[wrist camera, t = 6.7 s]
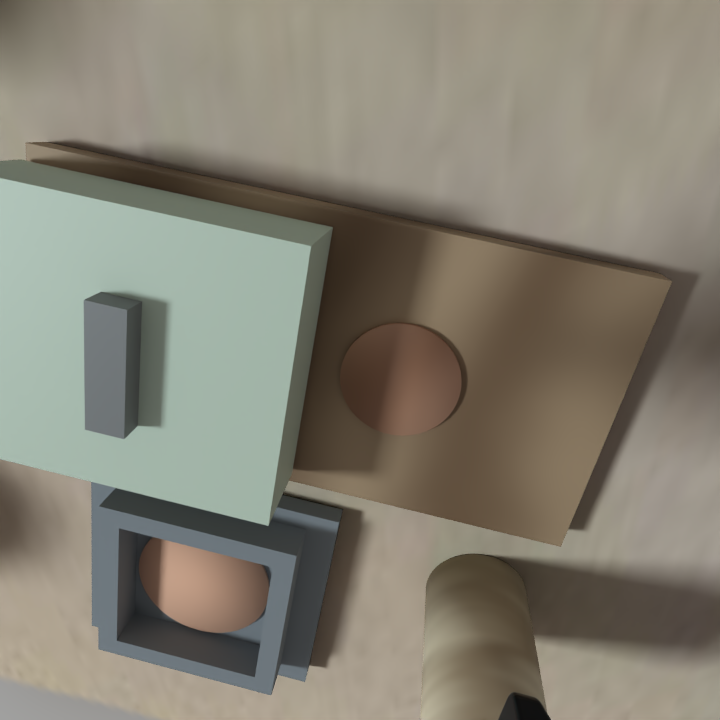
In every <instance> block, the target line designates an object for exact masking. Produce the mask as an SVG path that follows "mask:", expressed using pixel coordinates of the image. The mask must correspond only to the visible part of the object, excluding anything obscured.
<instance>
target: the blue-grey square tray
mask: <svg viewBox="0 0 720 720" xmlns="http://www.w3.org/2000/svg"><path fill="white" fill-rule="evenodd" d="M91 490H92V626H96V627H99V649H100V650H103V651H107V652H111V653H115V654H118V655H122V656H126V657H130V658H133V659H137V660H141V661H145V662H148V663H152V664H156V665H160V666H163V667H167V668H171V669H175V670H178V671H182V672H186V673H189V674H193V675H197V676H201V677H204V678H208V679H212V680H216V681H219V682H223V683H227V684H231V685H234V686H238V687H242V688H246V689H249V690H253V691H257V692H261V693H264V694H268V695H271V694H272V691H273V688H274V685H275V681H276V678H277V675H281V676H285V677H288V678H292V679H296V680H300V681H304V682H305V679H306V675H307V671H308V667H309V663H310V658H311V654H312V649H313V645H314V640H315V635H316V631H317V626H318V621H319V617H320V612H321V607H322V603H323V598H324V594H325V589H326V584H327V580H328V575H329V570H330V566H331V561H332V556H333V552H334V547H335V542H336V538H337V533H338V529H339V524H340V519H341V515H342V509H338V508H334V507H329V506H325V505H321V504H317V503H313V502H309V501H305V500H301V499H297V498H293V497H289V496H285V495H282V497H281V499H280V501H279V503H278V506H277V508H276V510H275V512H274V515H273V517H272V519H271V521H270V523H269V526H267V525H263V524H259V523H255V522H251V521H247V520H243V519H239V518H235V517H231V516H227V515H223V514H219V513H215V512H211V511H207V510H203V509H198V508H194V507H190V506H186V505H182V504H178V503H174V502H170V501H166V500H162V499H158V498H154V497H150V496H146V495H142V494H138V493H134V492H130V491H126V490H122V489H118V488H114V487H110V486H106V485H102V484H98V483H94V482H91Z"/></svg>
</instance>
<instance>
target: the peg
mask: <svg viewBox="0 0 720 720" xmlns="http://www.w3.org/2000/svg"><path fill="white" fill-rule="evenodd" d="M512 692H517V693H521V694H525V695H529V696H533V697H535V698H537V699H538V700H539V701H540V702H541V703H542V705H543V707H544V708H545V710H546V712H547V709H546V704H545V698H544V692H543V686H542V680H541V675H540V669H539V663H538V657H537V651H536V646H535V640H534V634H533V628H532V622H531V617H530V611H529V605H528V599H527V593H526V588H525V585H524V582H523V580H522V578H521V577H520V575H519V574H518V573H517V572H516V571H515V570H514V569H513V568H512V567H511V566H510V565H508V564H507V563H505V562H503V561H501V560H499V559H497V558H494V557H491V556H487V555H480V554H466V555H460V556H456V557H453V558H450V559H448V560H446V561H444V562H443V563H441V564H440V565H438V566H437V567H436V568H435V569H434V570H433V572H432V573H431V574H430V576H429V578H428V581H427V585H426V602H425V625H424V647H423V670H422V693H421V716H420V720H498V718H499V716H500V714H501V711H502V709H503V707H504V705H505V702H506V700H507V698H508V696H509V694H511V693H512Z"/></svg>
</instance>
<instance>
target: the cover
mask: <svg viewBox="0 0 720 720" xmlns="http://www.w3.org/2000/svg"><path fill="white" fill-rule="evenodd" d="M332 230H333V227H330V226H325V225H321V224H316V223H311V222H307V221H302V220H297V219H293V218H288V217H284V216H279V215H274V214H270V213H265V212H261V211H256V210H251V209H247V208H242V207H237V206H233V205H228V204H224V203H219V202H214V201H210V200H205V199H201V198H196V197H191V196H187V195H182V194H177V193H173V192H168V191H164V190H159V189H154V188H150V187H145V186H141V185H136V184H131V183H127V182H122V181H117V180H113V179H108V178H104V177H99V176H94V175H90V174H85V173H81V172H76V171H71V170H67V169H62V168H58V167H53V166H48V165H44V164H39V163H34V162H30V161H25V160H8V161H0V459H2V460H6V461H10V462H14V463H18V464H22V465H26V466H30V467H34V468H38V469H42V470H46V471H50V472H54V473H58V474H62V475H66V476H70V477H74V478H78V479H82V480H86V481H90V482H94V483H98V484H102V485H106V486H110V487H114V488H118V489H122V490H126V491H130V492H134V493H138V494H142V495H146V496H150V497H154V498H158V499H162V500H166V501H170V502H174V503H178V504H182V505H186V506H190V507H194V508H198V509H203V510H207V511H211V512H215V513H219V514H223V515H227V516H231V517H235V518H239V519H243V520H247V521H251V522H255V523H259V524H263V525H267V526H269V523H270V521H271V519H272V517H273V515H274V512H275V510H276V508H277V506H278V503H279V501H280V499H281V497H282V494H283V492H284V490H285V488H286V486H287V483H288V481H289V479H290V477H291V474H292V471H293V465H294V459H295V453H296V447H297V441H298V435H299V429H300V423H301V417H302V411H303V405H304V399H305V393H306V387H307V381H308V374H309V368H310V362H311V356H312V350H313V344H314V338H315V332H316V326H317V320H318V314H319V308H320V302H321V296H322V290H323V284H324V278H325V272H326V266H327V260H328V254H329V248H330V242H331V236H332Z"/></svg>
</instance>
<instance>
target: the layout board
mask: <svg viewBox="0 0 720 720" xmlns="http://www.w3.org/2000/svg"><path fill="white" fill-rule="evenodd" d="M25 144H26V161H30V162H34V163H39V164H44V165H48V166H53V167H58V168H62V169H67V170H71V171H76V172H81V173H85V174H90V175H94V176H99V177H104V178H108V179H113V180H117V181H122V182H127V183H131V184H136V185H141V186H145V187H150V188H154V189H159V190H164V191H168V192H173V193H177V194H182V195H187V196H191V197H196V198H201V199H205V200H210V201H214V202H219V203H224V204H228V205H233V206H237V207H242V208H247V209H251V210H256V211H261V212H265V213H270V214H274V215H279V216H284V217H288V218H293V219H297V220H302V221H307V222H311V223H316V224H321V225H325V226H330V227H333V230H332V236H331V242H330V248H329V254H328V260H327V266H326V272H325V278H324V284H323V290H322V296H321V302H320V308H319V314H318V320H317V326H316V332H315V338H314V344H313V350H312V356H311V362H310V368H309V374H308V381H307V387H306V393H305V399H304V405H303V411H302V417H301V423H300V429H299V435H298V441H297V447H296V453H295V459H294V465H293V471H292V474H291V477H290V479H289V480H290V481H294V482H298V483H302V484H306V485H310V486H314V487H318V488H322V489H326V490H331V491H335V492H339V493H343V494H347V495H351V496H355V497H359V498H363V499H367V500H371V501H376V502H380V503H384V504H388V505H392V506H396V507H400V508H404V509H408V510H412V511H417V512H421V513H425V514H429V515H433V516H437V517H441V518H445V519H449V520H453V521H457V522H462V523H466V524H470V525H474V526H478V527H482V528H486V529H490V530H494V531H498V532H503V533H507V534H511V535H515V536H519V537H523V538H527V539H531V540H535V541H539V542H543V543H548V544H552V545H556V546H560V547H561V545H562V543H563V540H564V538H565V536H566V533H567V531H568V528H569V526H570V524H571V521H572V519H573V516H574V514H575V512H576V509H577V507H578V505H579V502H580V500H581V497H582V495H583V493H584V490H585V488H586V486H587V483H588V481H589V478H590V476H591V474H592V471H593V469H594V467H595V464H596V462H597V459H598V457H599V455H600V452H601V450H602V447H603V445H604V443H605V440H606V438H607V436H608V433H609V431H610V428H611V426H612V424H613V421H614V419H615V417H616V414H617V412H618V409H619V407H620V405H621V402H622V400H623V398H624V395H625V393H626V390H627V388H628V386H629V383H630V381H631V379H632V376H633V374H634V371H635V369H636V367H637V364H638V362H639V359H640V357H641V355H642V352H643V350H644V348H645V345H646V343H647V340H648V338H649V336H650V333H651V331H652V329H653V326H654V324H655V321H656V319H657V317H658V314H659V312H660V310H661V307H662V305H663V302H664V300H665V298H666V295H667V293H668V291H669V288H670V286H671V283H672V281H671V280H669V279H668V278H666V277H665V276H663V275H662V274H660V273H655V272H651V271H646V270H641V269H637V268H632V267H627V266H623V265H618V264H613V263H609V262H604V261H599V260H595V259H590V258H585V257H581V256H576V255H571V254H567V253H562V252H557V251H553V250H548V249H543V248H539V247H534V246H529V245H525V244H520V243H515V242H511V241H506V240H501V239H497V238H492V237H487V236H483V235H478V234H473V233H469V232H464V231H459V230H455V229H450V228H445V227H441V226H436V225H431V224H427V223H422V222H417V221H413V220H408V219H403V218H399V217H394V216H389V215H385V214H380V213H375V212H371V211H366V210H361V209H357V208H352V207H347V206H343V205H338V204H333V203H329V202H324V201H319V200H315V199H310V198H305V197H301V196H296V195H291V194H287V193H282V192H277V191H273V190H268V189H263V188H259V187H254V186H249V185H245V184H240V183H235V182H231V181H226V180H221V179H217V178H212V177H207V176H203V175H198V174H193V173H189V172H184V171H179V170H175V169H170V168H165V167H161V166H156V165H151V164H147V163H142V162H137V161H133V160H128V159H123V158H119V157H114V156H109V155H105V154H100V153H95V152H91V151H86V150H81V149H77V148H72V147H67V146H63V145H58V144H53V143H49V142H32V143H25Z"/></svg>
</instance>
